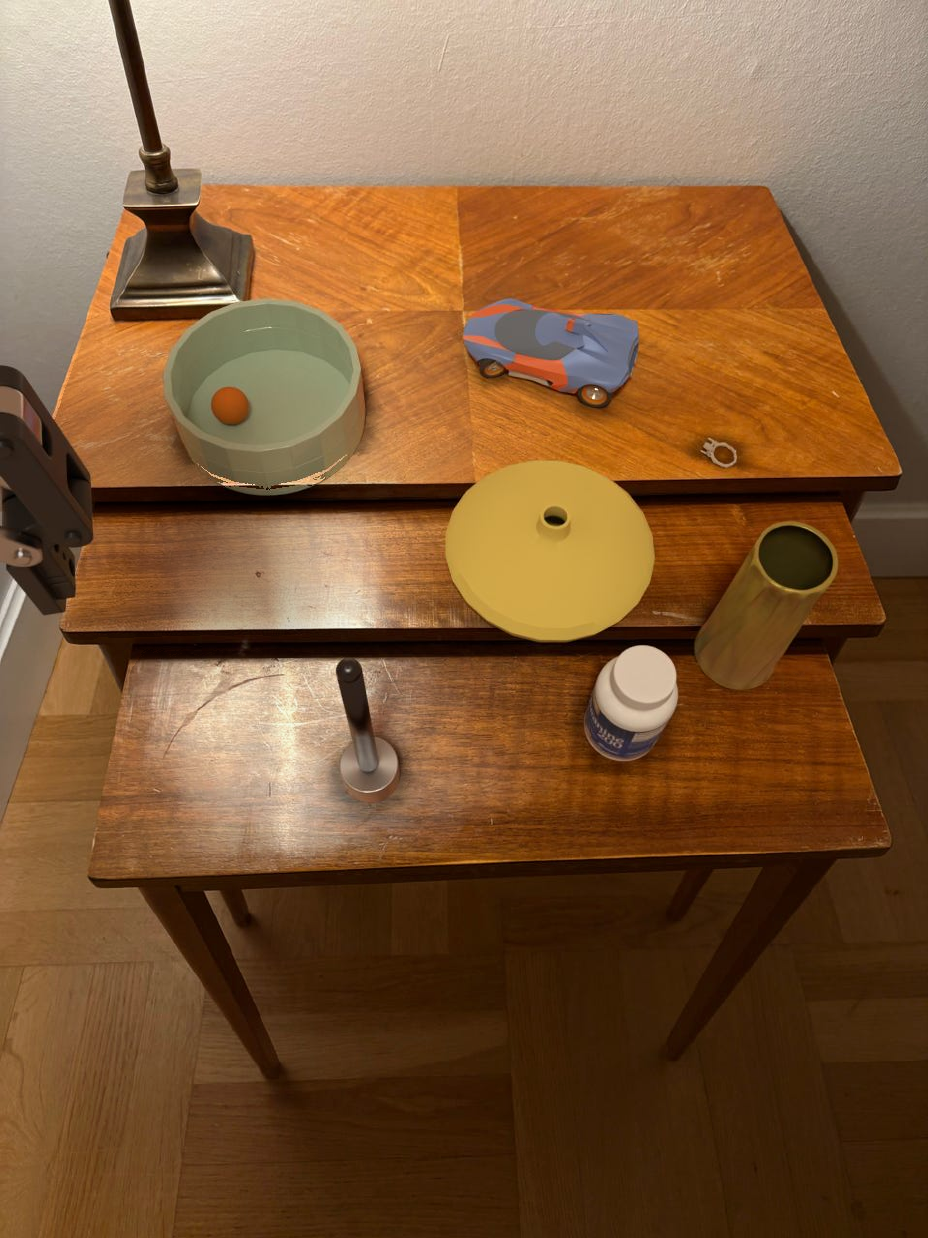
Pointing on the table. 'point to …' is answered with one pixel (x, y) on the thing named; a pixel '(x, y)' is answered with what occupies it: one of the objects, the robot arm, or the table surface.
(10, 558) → the robot arm
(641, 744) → the pill bottle
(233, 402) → the ball
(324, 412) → the bowl
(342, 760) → the rod with round foot
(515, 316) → the toy car
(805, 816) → the table surface
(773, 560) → the vase
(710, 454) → the ring
